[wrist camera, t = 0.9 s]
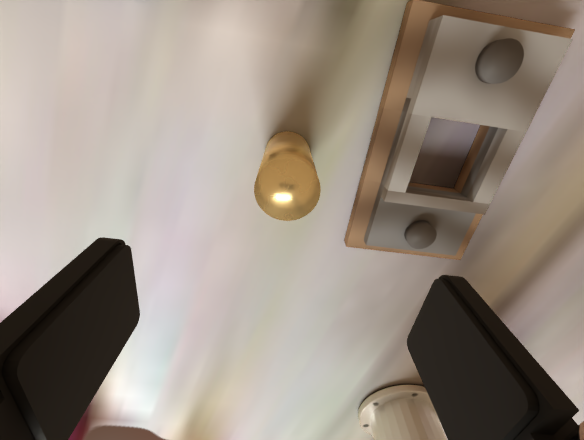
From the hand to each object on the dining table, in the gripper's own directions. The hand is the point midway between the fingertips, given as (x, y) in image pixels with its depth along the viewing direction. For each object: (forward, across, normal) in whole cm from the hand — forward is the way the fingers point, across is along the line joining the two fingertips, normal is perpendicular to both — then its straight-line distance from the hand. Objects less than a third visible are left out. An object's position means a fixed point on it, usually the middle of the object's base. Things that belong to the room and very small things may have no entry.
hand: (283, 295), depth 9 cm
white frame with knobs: (+18, -13, -2) cm, 23 cm away
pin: (+18, 0, 0) cm, 18 cm away
